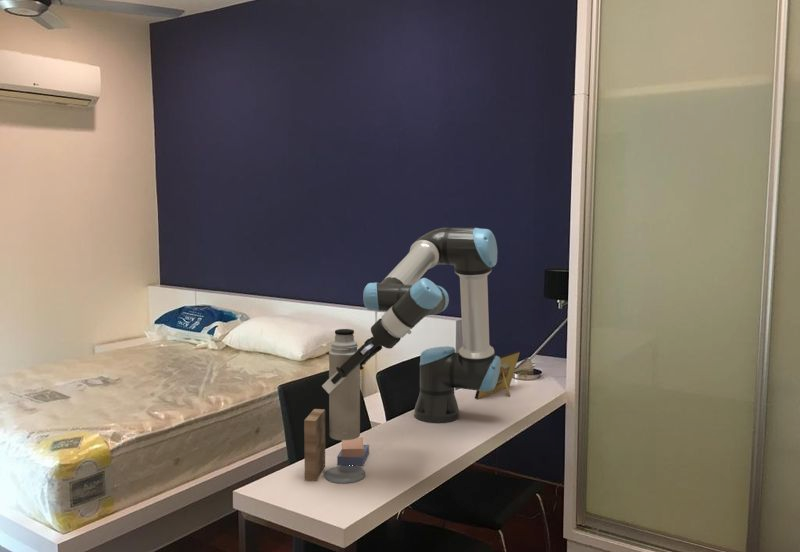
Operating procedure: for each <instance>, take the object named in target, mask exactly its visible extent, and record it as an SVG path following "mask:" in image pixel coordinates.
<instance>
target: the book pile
mask: <svg viewBox="0 0 800 552" xmlns="http://www.w3.org/2000/svg"><path fill="white" fill-rule="evenodd" d="M369 454H370V445H369V444H364V437H358V438H356V439H352V440H341V449H340V451H339V453H338V454H337V456H336V458H337V460H336V461H337V462H336V463H337V464H336V466H343V465H350V466H352V465H353V466H356V467H361V466H364V465H363V464H365V462H366V460H367V458H368V456H369Z"/></svg>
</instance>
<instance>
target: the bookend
mask: <svg viewBox="0 0 800 552" xmlns="http://www.w3.org/2000/svg"><path fill="white" fill-rule="evenodd" d="M303 421H304V422H303V423H304V424H303V432H304V435H303V436H304V440H303V441H304V445H303V446H304V450H303V451H304V481H305V482H317V480H318V479H319V477H320V476H321V474H322V472H323V471H324V469H326V409H325V408H323V409H321V408H314V409H312V411H311V412H310V413H309V414H308V416H307V417H305V419H304V420H303Z"/></svg>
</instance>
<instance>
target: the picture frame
mask: <svg viewBox="0 0 800 552" xmlns="http://www.w3.org/2000/svg"><path fill="white" fill-rule="evenodd" d="M520 353H521V351H518V350H517V351H513V352H510V353H506V354H504V355H501V356H499V357H500V360H501V364H500V372H499V377H498V380H497V383H496V386H495V388H494V389H493V390H492V391H477V390H475V391H476V392H475V395H474V399H476V400H479V399H480V400H481V399H482V398H485V397H487V396H490V395H492V394H495V393H497V392H499V391H501V390H502V391H503V390H505V389H506V392H507V394H508V396H509V398H510V397H511V393H510V389H509V388H510V386H511V382H512V380H513V376H514V373H515V370H516V367H517V363H518V360H519V356H520Z"/></svg>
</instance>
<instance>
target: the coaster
mask: <svg viewBox="0 0 800 552" xmlns="http://www.w3.org/2000/svg"><path fill="white" fill-rule="evenodd" d="M366 474H367V473H366V470H365V469H363V468H362V467H361V466H349V465H335V466H333V467H329V468H328V469H326V470H325V471H324V472H323V477H324V479H325V480H326V481H328V482H330V483H335V484H338V485H339V484H343V485H344V484H345V485H346V484H354V483H357V482H361V481H362V480H364V479H365V478H366ZM364 477H365V478H364Z"/></svg>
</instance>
